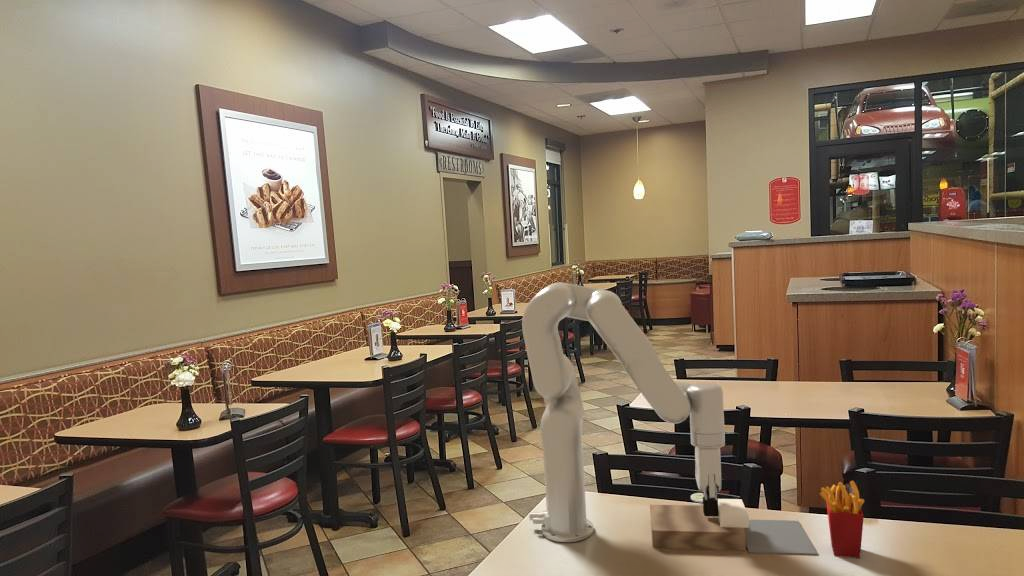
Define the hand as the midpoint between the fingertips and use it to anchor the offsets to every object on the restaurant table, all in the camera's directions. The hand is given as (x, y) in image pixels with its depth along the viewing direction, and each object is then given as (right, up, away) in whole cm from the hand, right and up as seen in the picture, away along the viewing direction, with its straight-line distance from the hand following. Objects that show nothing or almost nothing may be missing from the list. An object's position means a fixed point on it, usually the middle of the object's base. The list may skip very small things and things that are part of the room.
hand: (710, 514), depth 146 cm
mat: (+14, -4, -2) cm, 15 cm away
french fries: (+25, -4, -9) cm, 27 cm away
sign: (+3, -4, +16) cm, 17 cm away
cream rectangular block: (+5, -1, -1) cm, 5 cm away
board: (-3, -5, +1) cm, 6 cm away
